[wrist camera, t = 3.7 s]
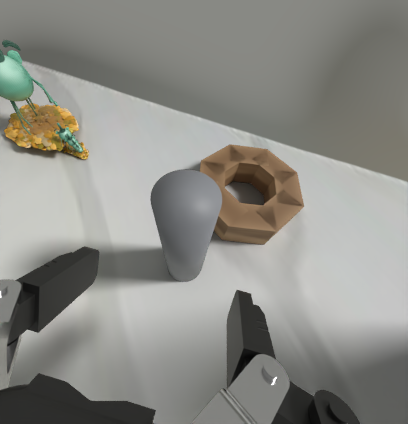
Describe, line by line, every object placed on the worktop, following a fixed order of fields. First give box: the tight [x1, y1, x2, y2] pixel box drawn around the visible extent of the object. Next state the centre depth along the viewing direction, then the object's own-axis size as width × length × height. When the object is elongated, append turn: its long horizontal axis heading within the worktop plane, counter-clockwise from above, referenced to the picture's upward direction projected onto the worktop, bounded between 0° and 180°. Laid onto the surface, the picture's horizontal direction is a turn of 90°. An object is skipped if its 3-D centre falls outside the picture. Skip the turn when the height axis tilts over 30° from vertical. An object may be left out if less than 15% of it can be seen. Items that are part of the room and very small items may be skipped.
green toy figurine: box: [0, 40, 89, 160], centre depth 26 cm, size 10×18×15 cm, turn 42°
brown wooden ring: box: [200, 145, 304, 244], centre depth 27 cm, size 13×13×4 cm
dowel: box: [151, 169, 222, 282], centre depth 17 cm, size 4×4×14 cm
